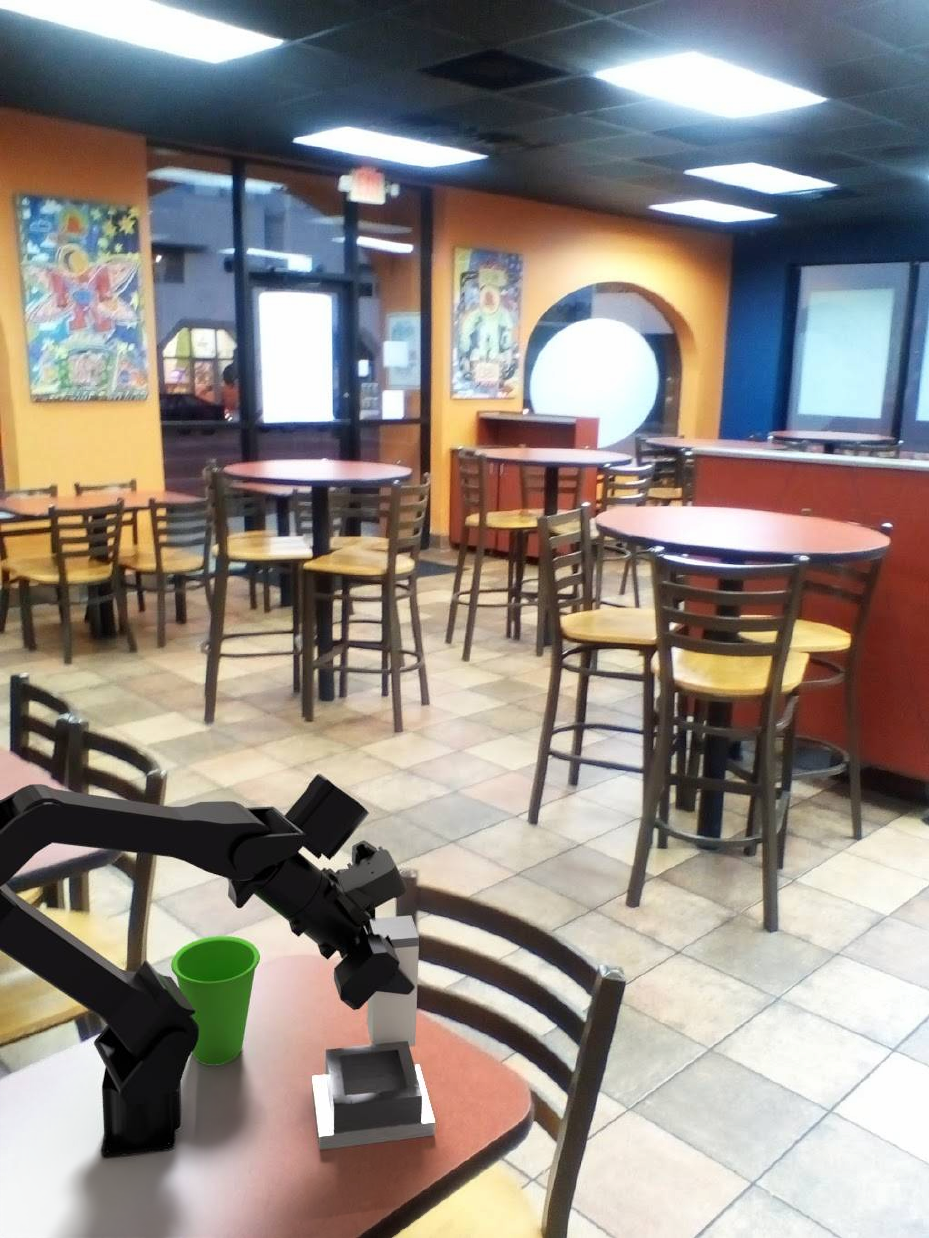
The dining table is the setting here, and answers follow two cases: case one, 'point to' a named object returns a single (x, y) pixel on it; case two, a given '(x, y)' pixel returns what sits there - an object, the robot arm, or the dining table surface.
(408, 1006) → the plug
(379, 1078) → the socket
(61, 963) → the robot arm
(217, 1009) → the cup
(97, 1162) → the dining table surface
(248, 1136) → the dining table surface
